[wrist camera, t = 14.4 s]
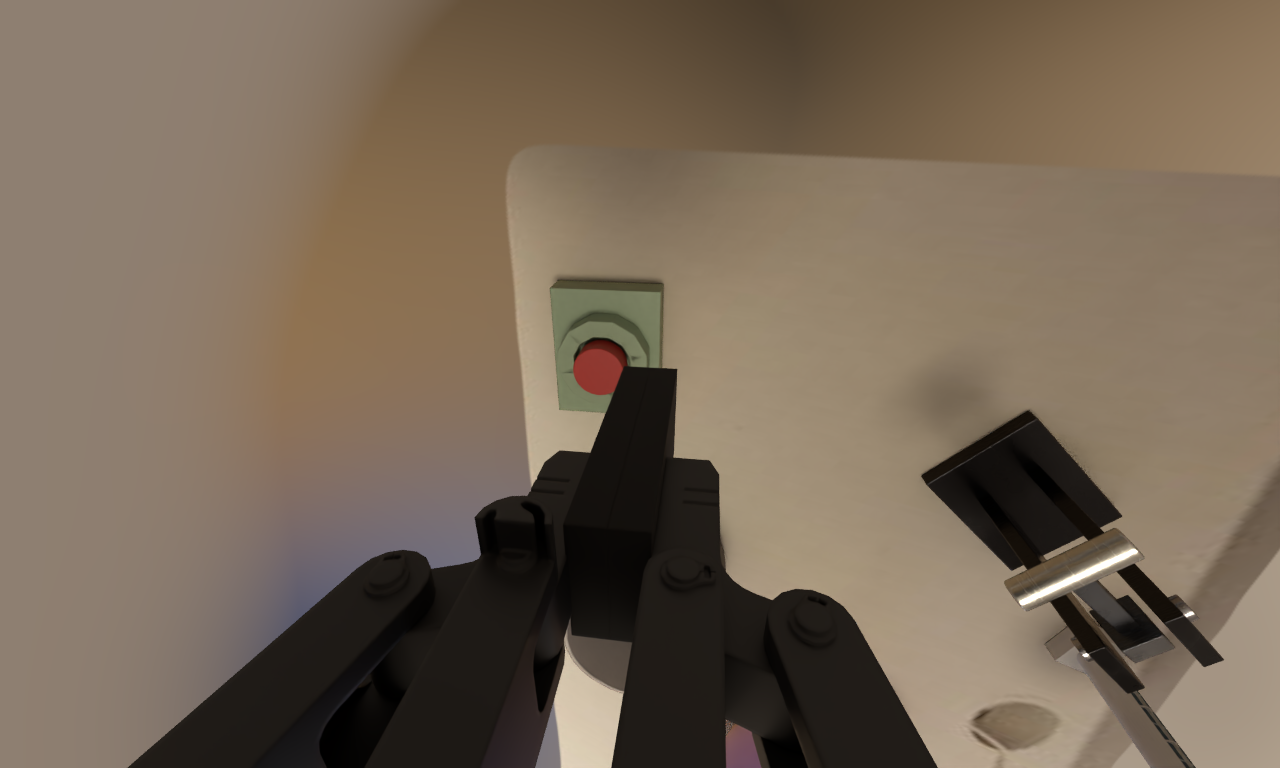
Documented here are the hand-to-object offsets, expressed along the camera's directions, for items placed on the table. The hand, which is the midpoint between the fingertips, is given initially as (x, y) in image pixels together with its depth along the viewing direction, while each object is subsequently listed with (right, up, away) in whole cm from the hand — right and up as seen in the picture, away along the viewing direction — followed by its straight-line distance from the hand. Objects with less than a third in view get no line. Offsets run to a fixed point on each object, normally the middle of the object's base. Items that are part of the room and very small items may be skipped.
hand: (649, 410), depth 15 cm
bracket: (+30, -8, +27) cm, 41 cm away
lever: (+25, -10, +14) cm, 30 cm away
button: (-3, +2, +23) cm, 23 cm away
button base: (-3, +4, +26) cm, 26 cm away
